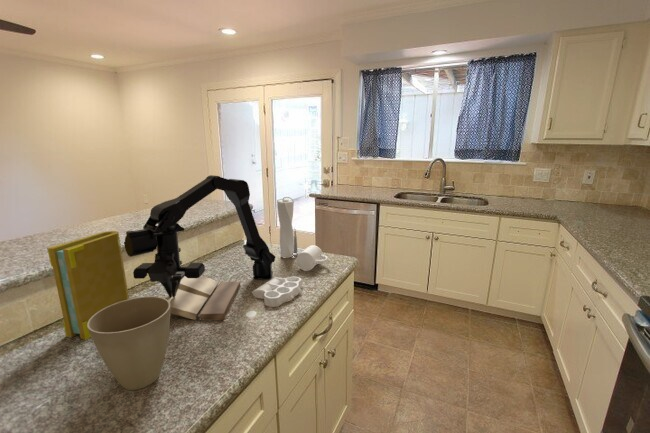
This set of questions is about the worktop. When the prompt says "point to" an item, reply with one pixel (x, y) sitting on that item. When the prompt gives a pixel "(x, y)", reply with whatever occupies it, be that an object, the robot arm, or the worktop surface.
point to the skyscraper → (286, 228)
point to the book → (88, 278)
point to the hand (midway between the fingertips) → (172, 296)
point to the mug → (310, 258)
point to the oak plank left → (186, 304)
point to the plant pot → (132, 339)
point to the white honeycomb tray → (279, 290)
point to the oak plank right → (198, 286)
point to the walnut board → (220, 301)
